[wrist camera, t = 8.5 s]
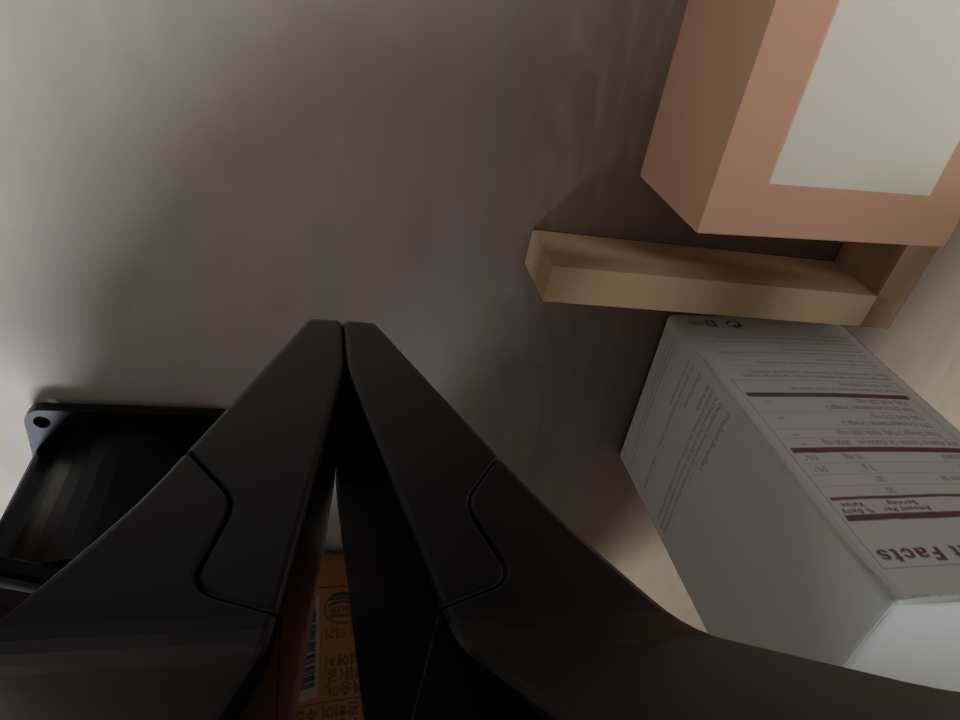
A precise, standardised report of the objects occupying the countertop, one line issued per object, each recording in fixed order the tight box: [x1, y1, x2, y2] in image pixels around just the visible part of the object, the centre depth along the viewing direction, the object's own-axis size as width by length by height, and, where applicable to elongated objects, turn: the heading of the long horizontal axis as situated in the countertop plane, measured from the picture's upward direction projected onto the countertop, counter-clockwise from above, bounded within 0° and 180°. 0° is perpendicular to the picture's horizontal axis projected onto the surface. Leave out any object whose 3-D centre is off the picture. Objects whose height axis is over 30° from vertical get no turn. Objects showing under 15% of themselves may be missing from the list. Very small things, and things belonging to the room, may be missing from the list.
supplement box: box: [620, 315, 960, 692], centre depth 22 cm, size 7×7×13 cm
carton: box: [640, 0, 960, 247], centre depth 18 cm, size 8×10×5 cm
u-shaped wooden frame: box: [525, 230, 938, 328], centre depth 19 cm, size 13×16×2 cm
